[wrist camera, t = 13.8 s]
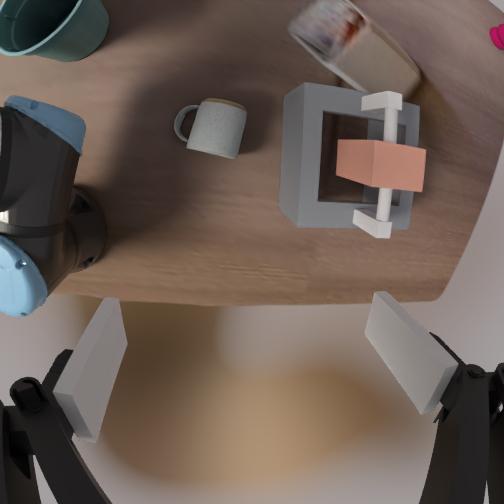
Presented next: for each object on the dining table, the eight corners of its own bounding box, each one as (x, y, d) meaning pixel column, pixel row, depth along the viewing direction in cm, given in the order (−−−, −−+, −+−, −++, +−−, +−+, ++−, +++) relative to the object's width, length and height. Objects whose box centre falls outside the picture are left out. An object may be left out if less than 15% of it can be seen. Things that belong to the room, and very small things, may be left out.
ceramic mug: (247, 110, 45) (252, 104, 37) (235, 159, 47) (237, 161, 40) (182, 97, 43) (175, 89, 36) (170, 146, 45) (161, 146, 38)
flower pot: (38, 84, 37) (-15, 72, 22) (46, 11, 31) (3, -17, 16) (119, 62, 39) (82, 32, 24) (124, -14, 33) (98, -58, 18)
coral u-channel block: (335, 175, 40) (371, 186, 30) (337, 139, 38) (374, 139, 28) (379, 179, 41) (422, 192, 30) (381, 145, 39) (426, 149, 29)
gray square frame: (278, 208, 51) (312, 243, 33) (283, 95, 44) (323, 70, 27) (372, 211, 53) (435, 244, 35) (380, 110, 47) (449, 104, 29)
